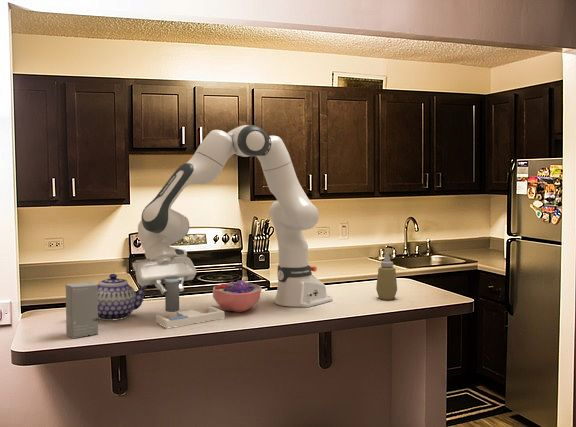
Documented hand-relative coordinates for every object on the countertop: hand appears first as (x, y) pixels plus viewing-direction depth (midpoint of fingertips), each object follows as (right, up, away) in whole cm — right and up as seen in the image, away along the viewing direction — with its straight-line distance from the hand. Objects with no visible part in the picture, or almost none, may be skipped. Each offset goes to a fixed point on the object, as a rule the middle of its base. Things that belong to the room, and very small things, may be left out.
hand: (173, 291), depth 195 cm
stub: (0, -6, +1) cm, 6 cm away
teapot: (-22, -10, +10) cm, 27 cm away
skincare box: (-26, -12, -11) cm, 30 cm away
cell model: (+19, -9, +19) cm, 29 cm away
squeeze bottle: (+76, -8, +36) cm, 84 cm away
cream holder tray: (+5, -10, +5) cm, 12 cm away
